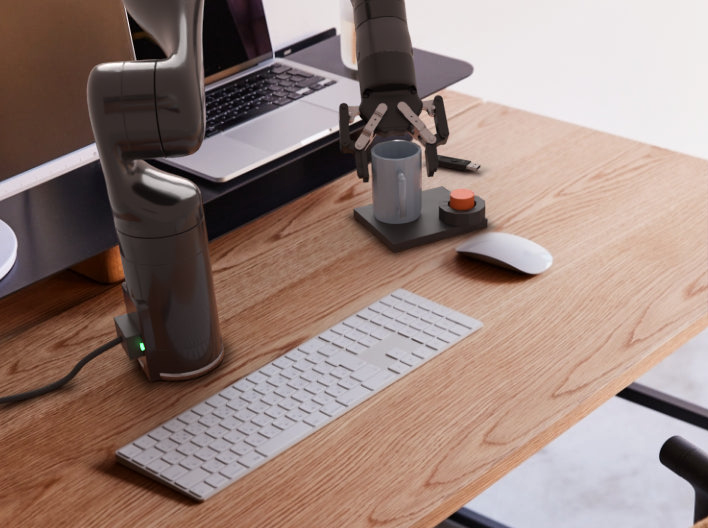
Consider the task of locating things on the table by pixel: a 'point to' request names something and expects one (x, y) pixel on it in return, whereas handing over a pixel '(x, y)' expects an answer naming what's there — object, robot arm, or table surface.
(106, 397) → the table surface
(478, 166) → the usb flash drive
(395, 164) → the mug
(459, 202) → the warmer button
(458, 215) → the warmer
